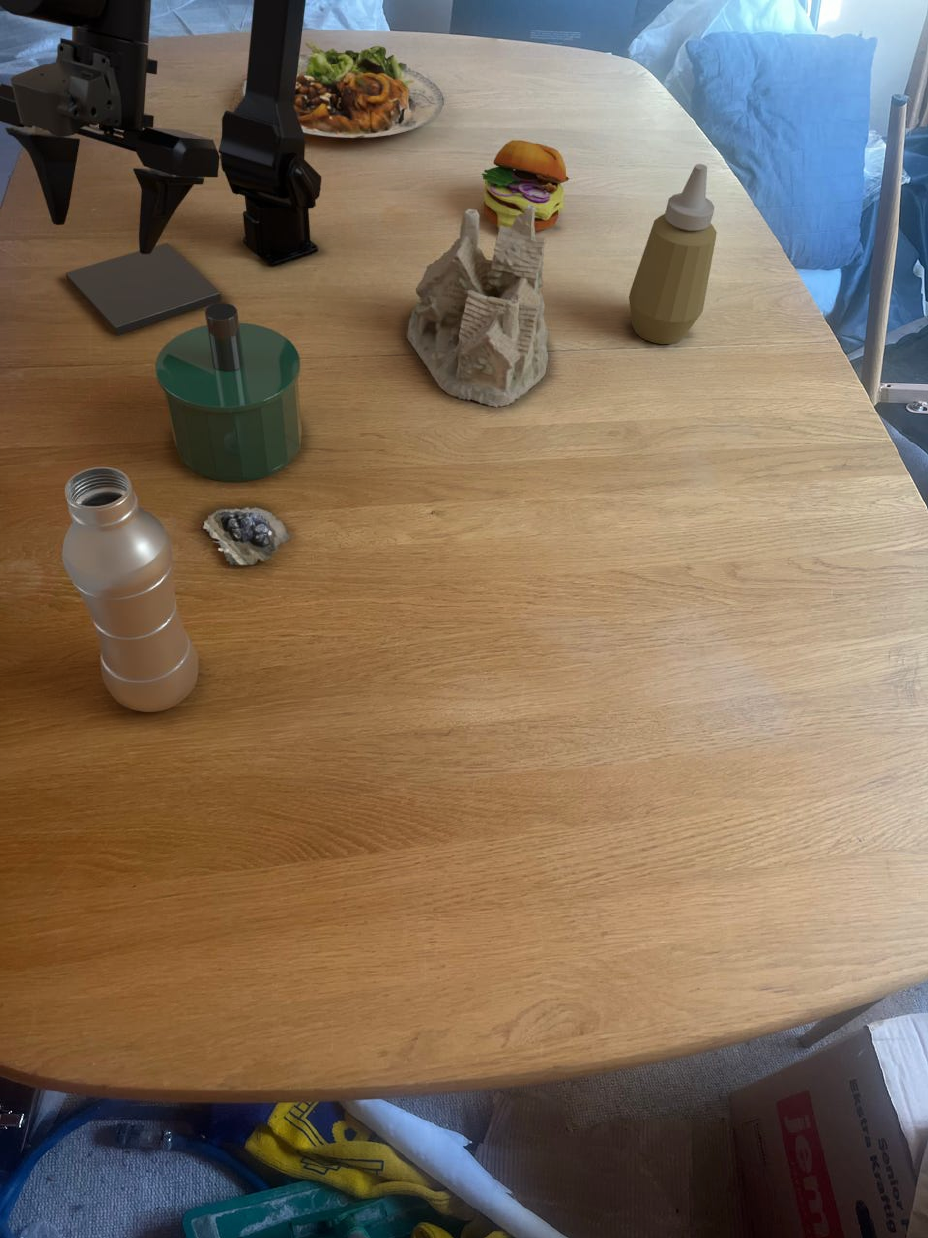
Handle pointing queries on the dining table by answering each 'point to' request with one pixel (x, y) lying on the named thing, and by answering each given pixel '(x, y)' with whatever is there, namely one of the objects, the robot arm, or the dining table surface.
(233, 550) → the grey lumpy flat piece
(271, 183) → the robot arm
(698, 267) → the squeeze bottle
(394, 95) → the plate of food
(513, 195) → the cheeseburger
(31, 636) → the dining table surface
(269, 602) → the dining table surface
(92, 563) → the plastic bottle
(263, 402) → the pot lid
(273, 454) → the pot
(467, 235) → the ceramic cottage
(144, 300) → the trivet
